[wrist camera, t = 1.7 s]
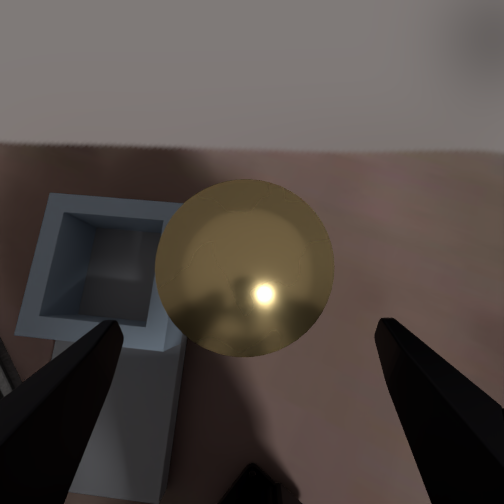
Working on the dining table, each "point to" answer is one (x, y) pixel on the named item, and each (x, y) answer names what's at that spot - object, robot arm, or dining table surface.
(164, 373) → the hitch socket
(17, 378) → the phone
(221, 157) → the dining table surface
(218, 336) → the pin
